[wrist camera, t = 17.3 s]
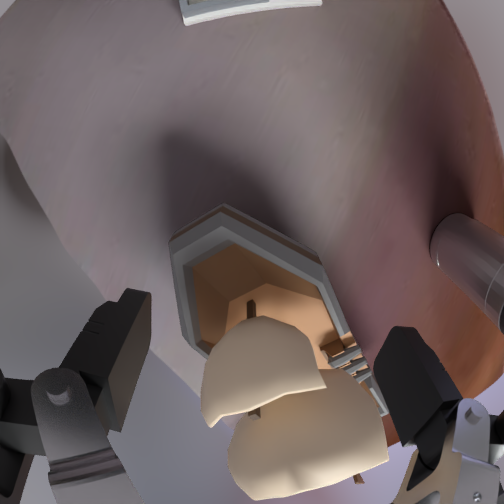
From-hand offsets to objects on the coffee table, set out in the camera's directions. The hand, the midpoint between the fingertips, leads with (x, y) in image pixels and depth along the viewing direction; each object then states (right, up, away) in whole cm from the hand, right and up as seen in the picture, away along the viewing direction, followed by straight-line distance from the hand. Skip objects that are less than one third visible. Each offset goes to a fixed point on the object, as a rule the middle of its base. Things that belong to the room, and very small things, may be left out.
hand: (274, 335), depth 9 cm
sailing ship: (+5, -8, +35) cm, 36 cm away
